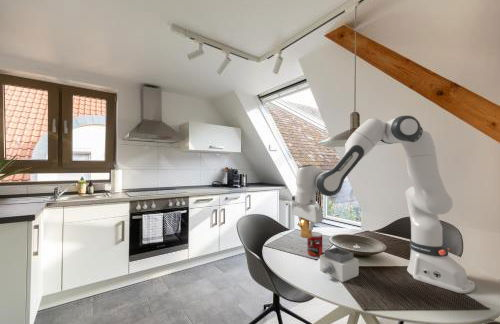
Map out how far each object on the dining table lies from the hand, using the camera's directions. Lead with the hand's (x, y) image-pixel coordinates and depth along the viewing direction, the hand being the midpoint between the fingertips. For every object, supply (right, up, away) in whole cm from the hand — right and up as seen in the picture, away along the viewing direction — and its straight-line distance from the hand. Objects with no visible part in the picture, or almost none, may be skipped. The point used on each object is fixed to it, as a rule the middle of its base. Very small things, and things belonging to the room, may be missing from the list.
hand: (306, 228), depth 109 cm
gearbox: (+12, -19, -7) cm, 23 cm away
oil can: (-1, -4, 0) cm, 4 cm away
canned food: (+9, -19, +16) cm, 26 cm away
